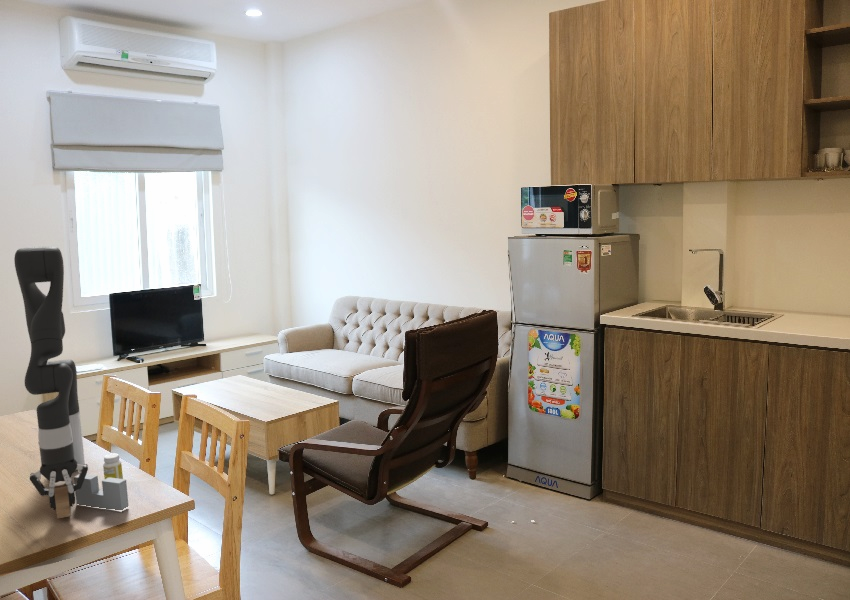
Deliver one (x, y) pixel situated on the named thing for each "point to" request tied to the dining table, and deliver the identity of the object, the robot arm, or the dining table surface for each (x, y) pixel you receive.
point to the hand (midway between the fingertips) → (63, 506)
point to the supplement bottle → (112, 466)
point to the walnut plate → (62, 500)
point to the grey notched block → (102, 493)
